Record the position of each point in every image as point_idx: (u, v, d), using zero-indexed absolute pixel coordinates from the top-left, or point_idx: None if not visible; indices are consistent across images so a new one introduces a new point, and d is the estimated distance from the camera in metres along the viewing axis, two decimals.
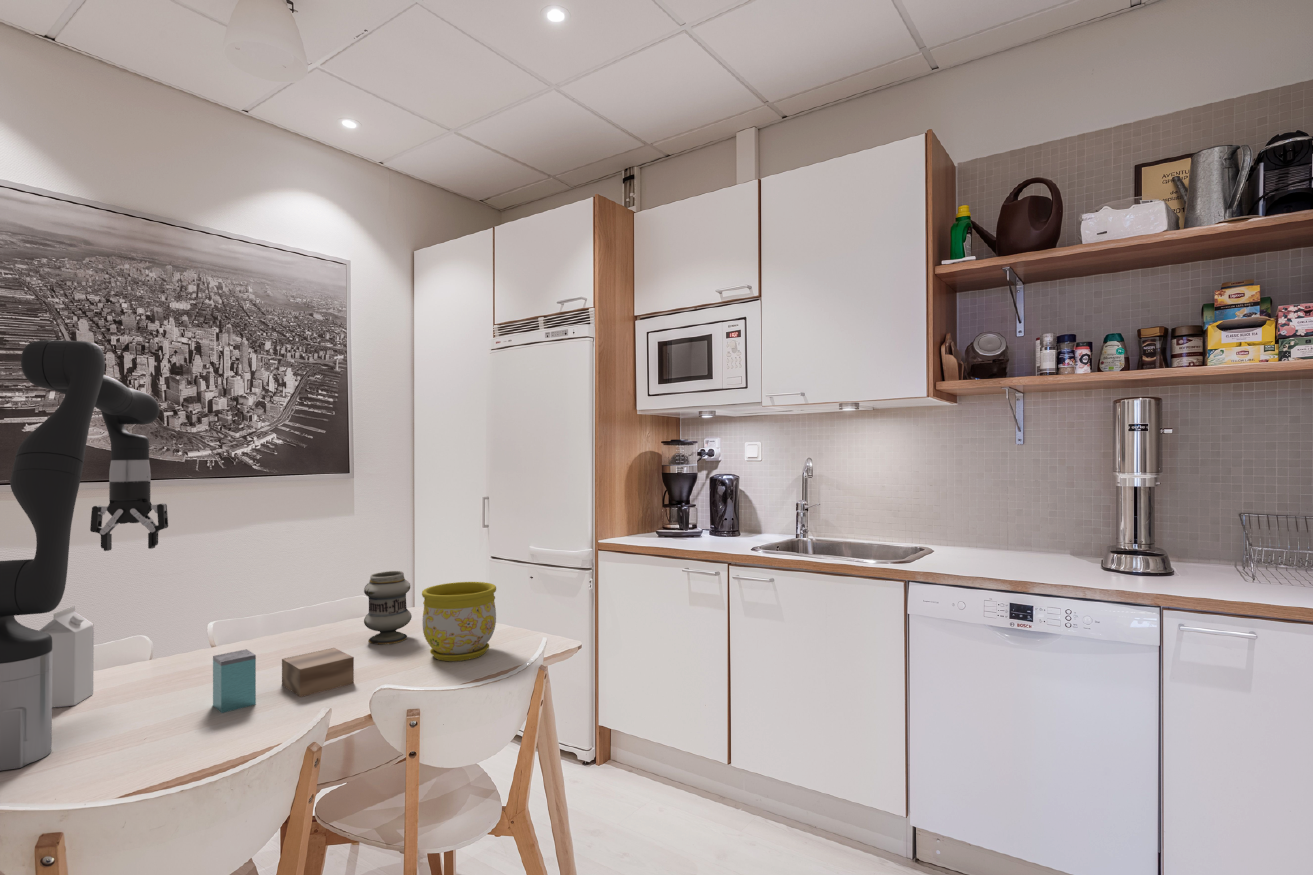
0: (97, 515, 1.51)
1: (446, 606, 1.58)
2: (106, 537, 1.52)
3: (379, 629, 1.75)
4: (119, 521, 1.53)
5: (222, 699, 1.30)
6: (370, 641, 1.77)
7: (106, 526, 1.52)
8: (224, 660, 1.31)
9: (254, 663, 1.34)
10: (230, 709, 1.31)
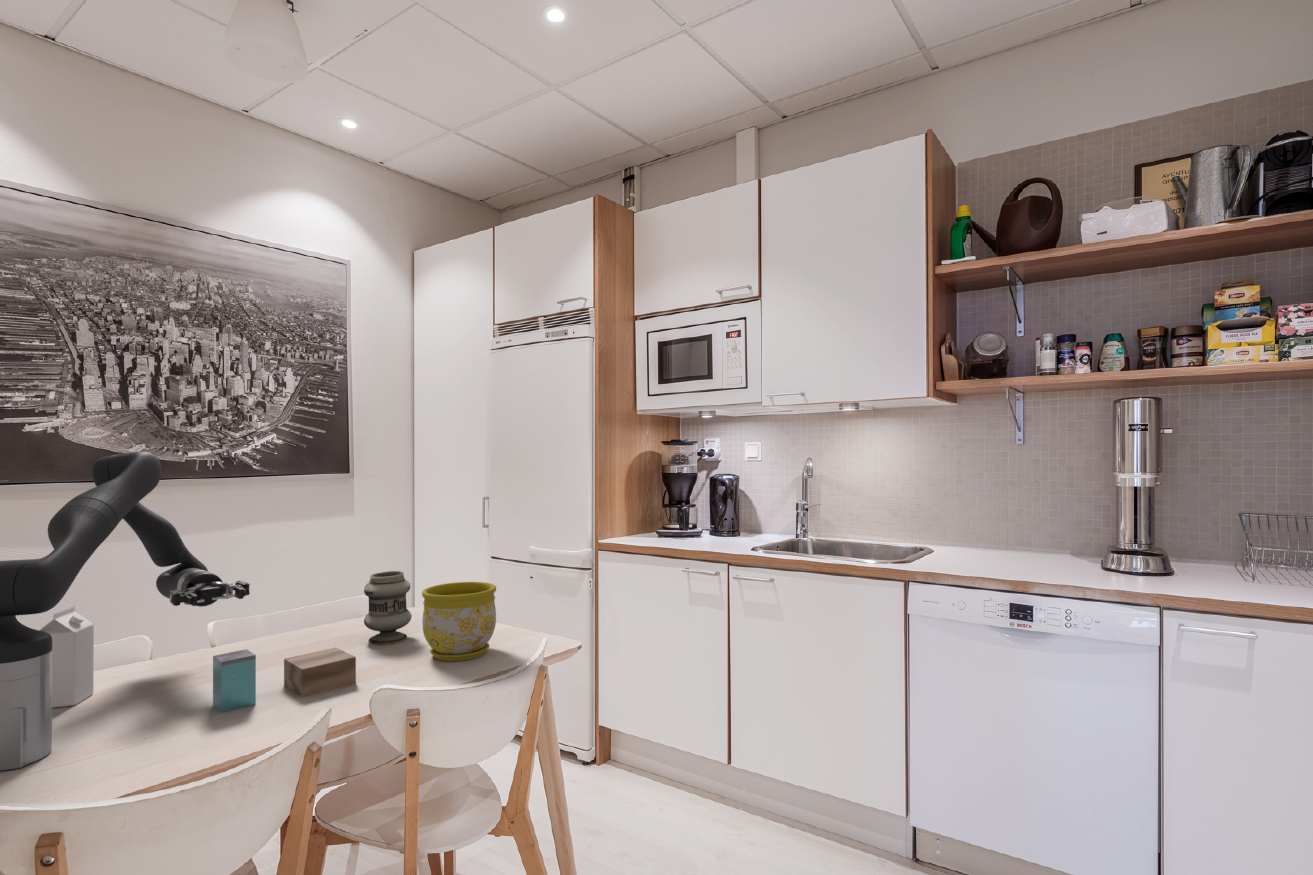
0: (177, 591, 1.44)
1: (446, 606, 1.58)
2: (192, 593, 1.41)
3: (379, 629, 1.75)
4: (201, 589, 1.46)
5: (222, 699, 1.30)
6: (370, 641, 1.77)
7: (190, 591, 1.43)
8: (224, 660, 1.31)
9: (254, 663, 1.34)
10: (230, 709, 1.31)
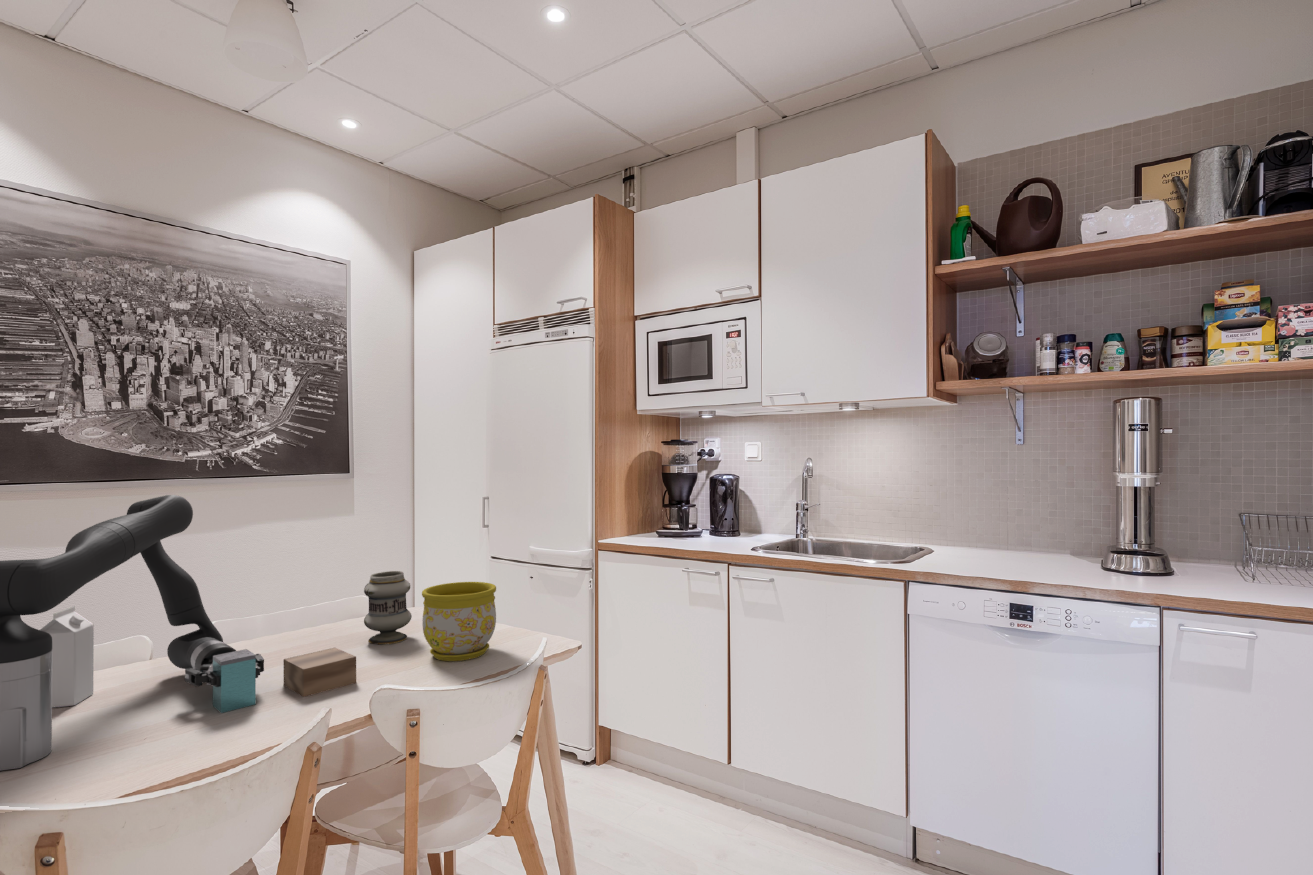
0: (194, 670, 1.34)
1: (446, 606, 1.58)
2: (215, 672, 1.32)
3: (379, 629, 1.75)
4: None
5: (222, 699, 1.30)
6: (370, 641, 1.77)
7: (210, 669, 1.34)
8: (224, 660, 1.31)
9: (254, 663, 1.34)
10: (230, 709, 1.31)
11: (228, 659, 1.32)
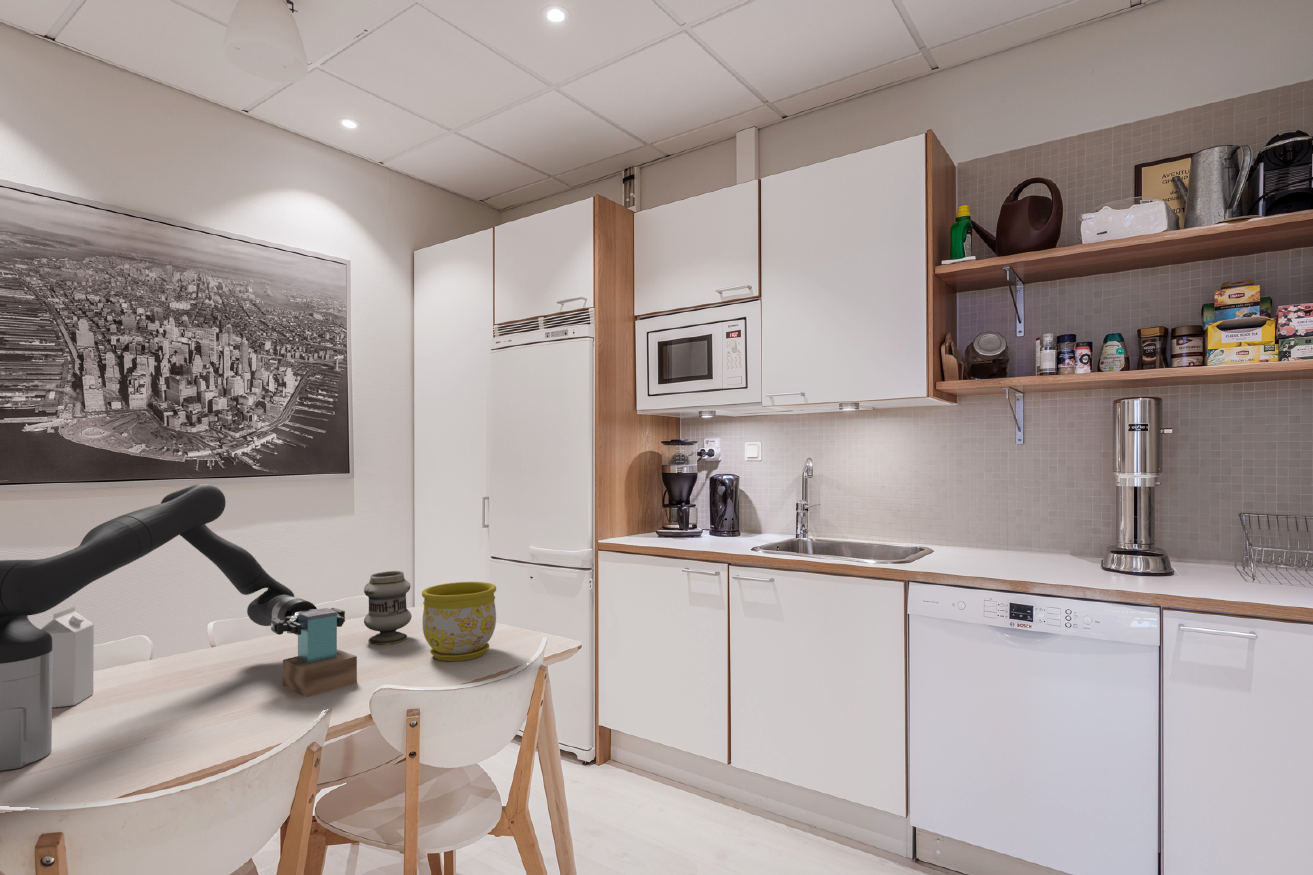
0: (278, 620, 1.46)
1: (446, 606, 1.58)
2: (295, 622, 1.44)
3: (379, 629, 1.75)
4: None
5: (308, 651, 1.42)
6: (370, 641, 1.77)
7: (291, 619, 1.46)
8: (310, 615, 1.43)
9: (335, 619, 1.46)
10: (315, 660, 1.43)
11: (313, 615, 1.43)
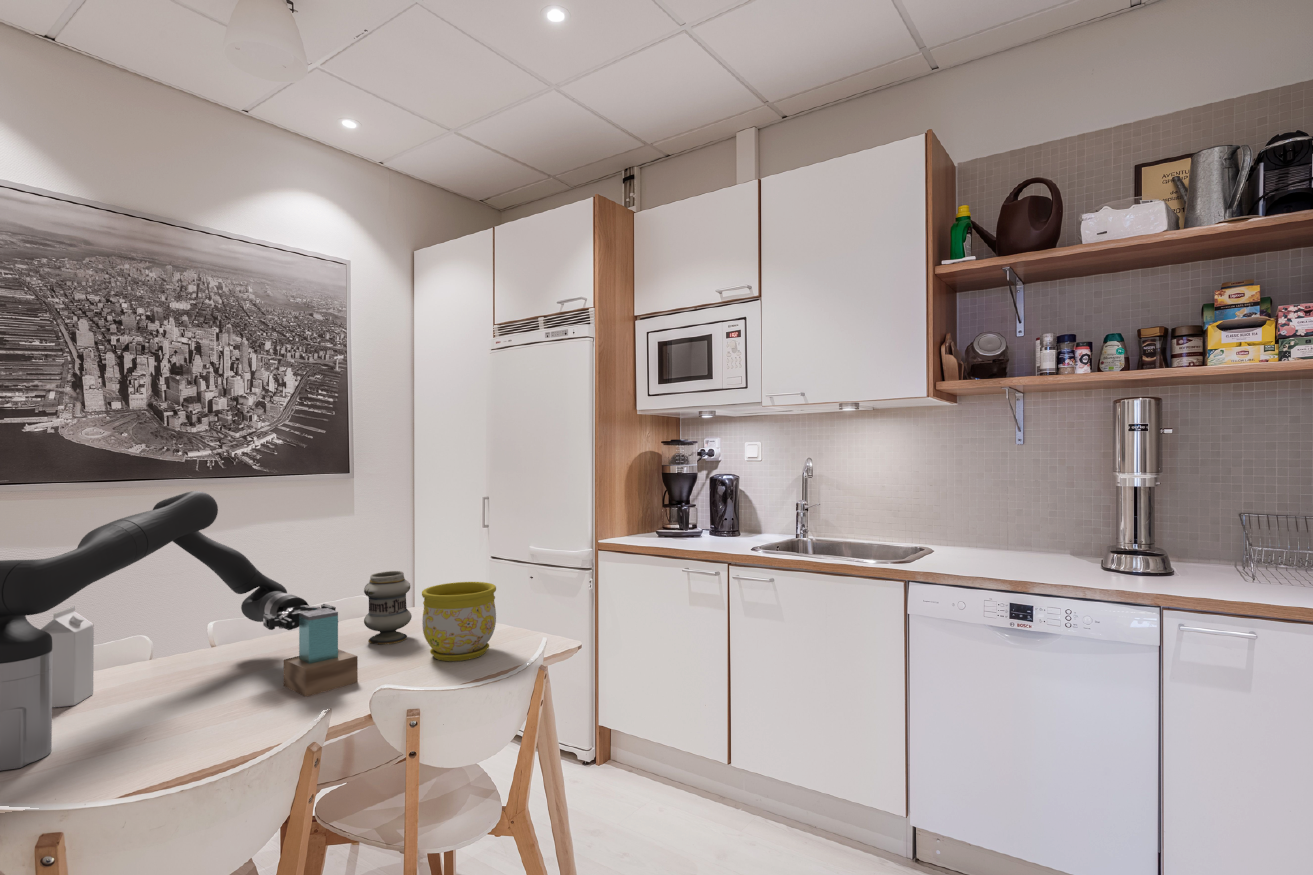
0: (270, 615, 1.50)
1: (446, 606, 1.58)
2: (286, 618, 1.48)
3: (379, 629, 1.75)
4: (293, 613, 1.52)
5: (309, 651, 1.42)
6: (370, 641, 1.77)
7: (283, 615, 1.50)
8: (311, 615, 1.43)
9: (337, 619, 1.46)
10: (316, 660, 1.43)
11: (314, 615, 1.43)
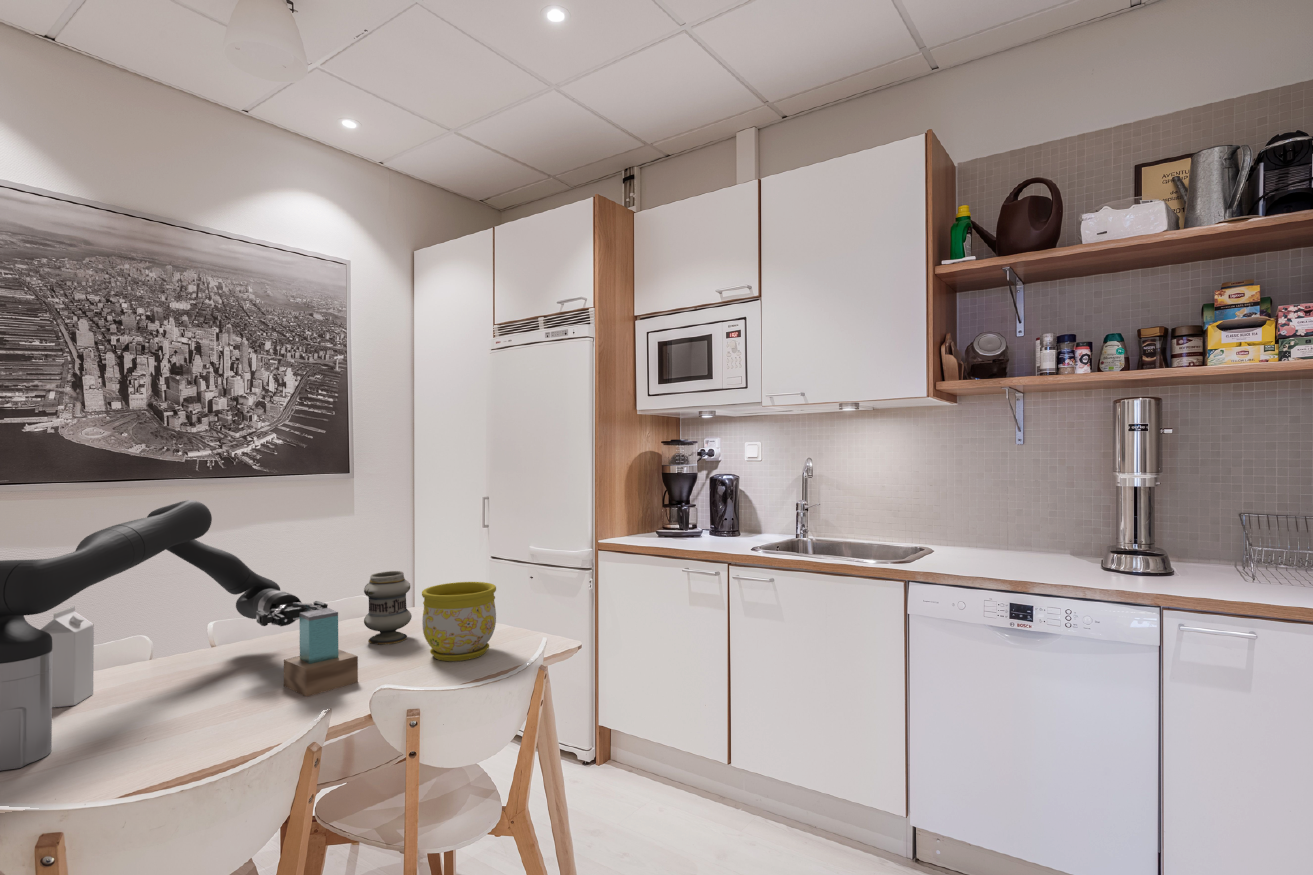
0: (263, 612, 1.53)
1: (446, 606, 1.58)
2: (279, 614, 1.51)
3: (379, 629, 1.75)
4: (285, 610, 1.55)
5: (310, 651, 1.42)
6: (370, 641, 1.77)
7: (275, 612, 1.53)
8: (311, 616, 1.43)
9: (337, 619, 1.46)
10: (317, 661, 1.43)
11: (314, 615, 1.43)
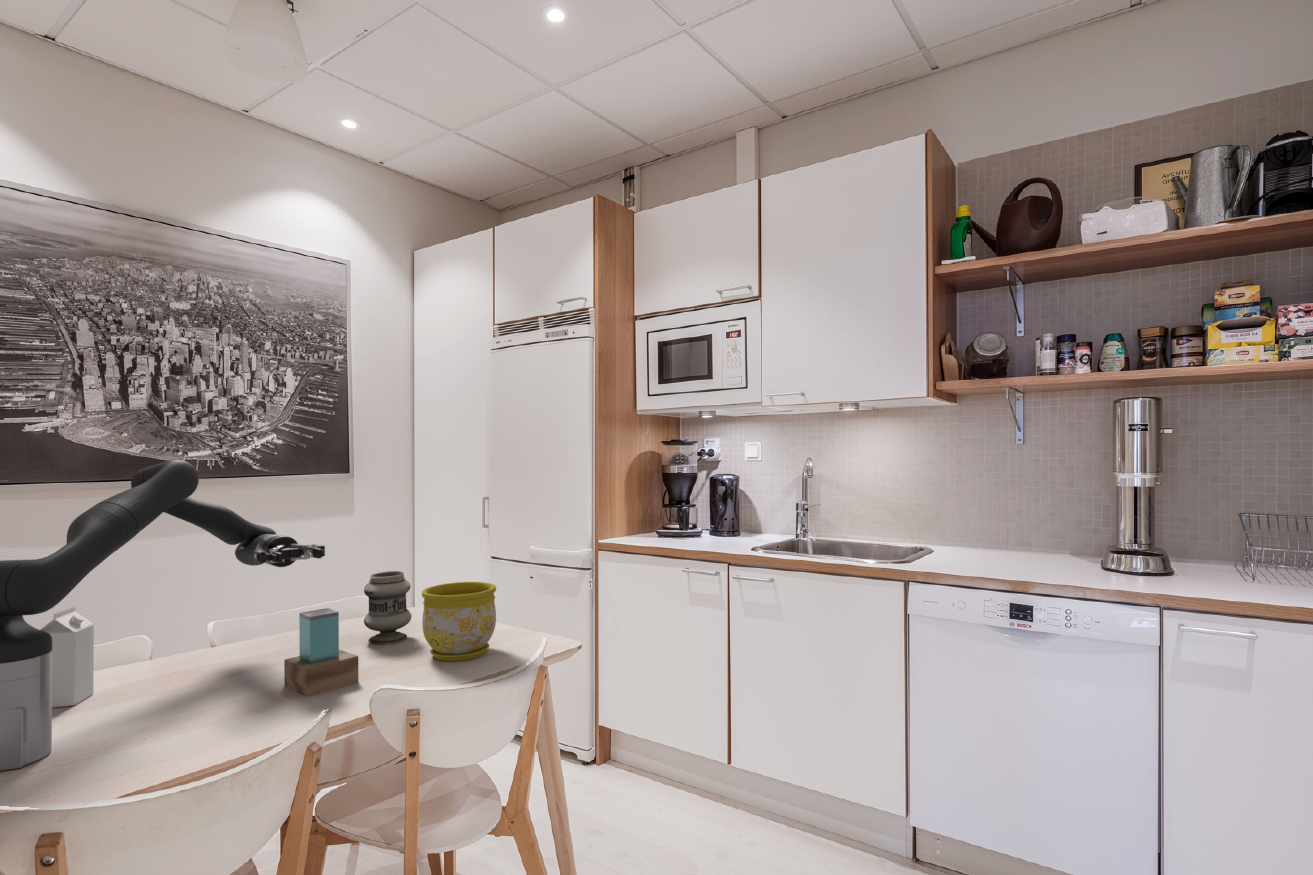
0: (261, 551, 1.55)
1: (446, 606, 1.58)
2: (276, 552, 1.52)
3: (379, 629, 1.75)
4: (283, 549, 1.57)
5: (310, 651, 1.42)
6: (370, 641, 1.77)
7: (273, 550, 1.54)
8: (312, 616, 1.43)
9: (337, 619, 1.46)
10: (317, 660, 1.43)
11: (315, 615, 1.43)
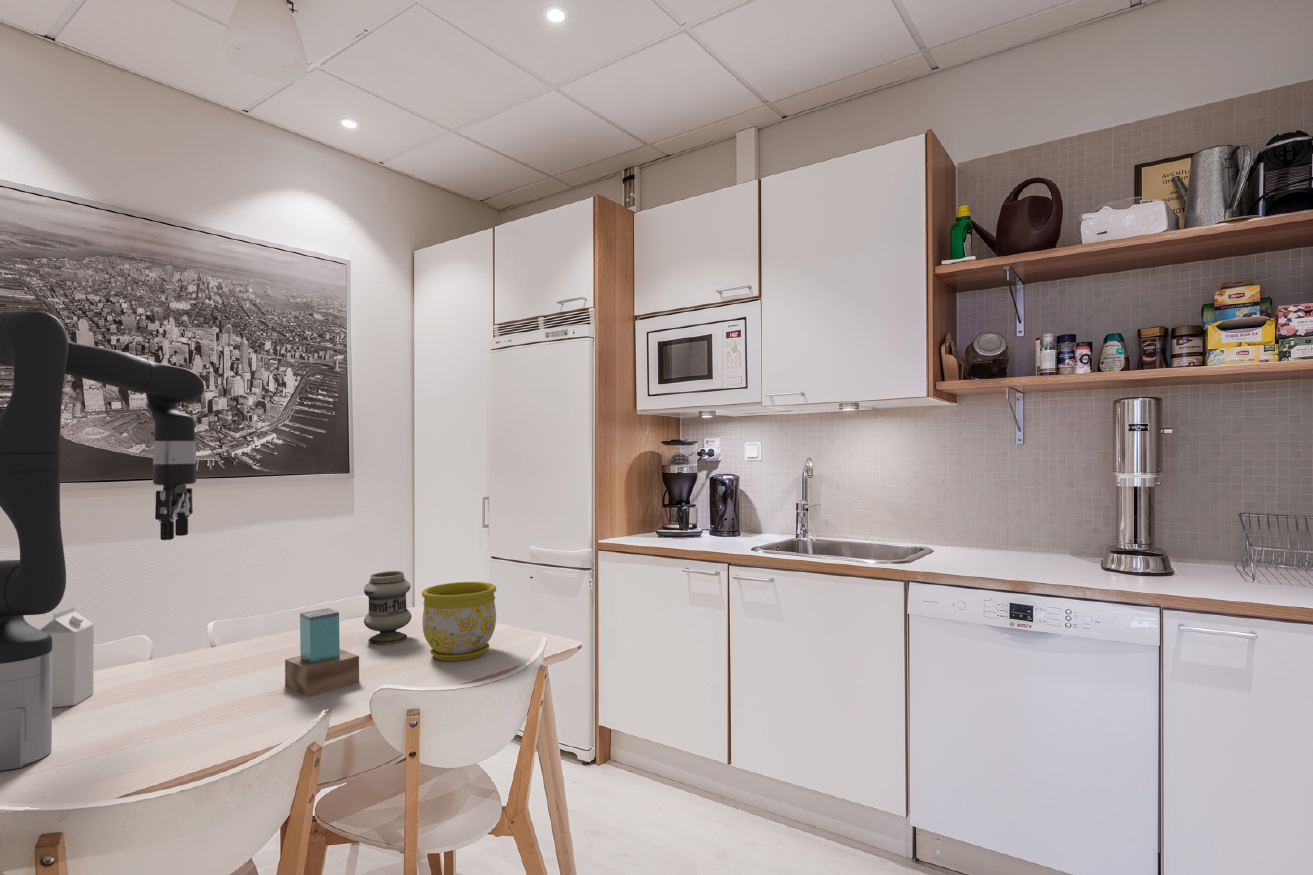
0: None
1: (446, 606, 1.58)
2: (173, 524, 1.39)
3: (379, 629, 1.75)
4: None
5: (311, 651, 1.42)
6: (370, 641, 1.77)
7: (174, 512, 1.39)
8: (312, 616, 1.43)
9: (338, 619, 1.46)
10: (318, 661, 1.43)
11: (315, 615, 1.43)
